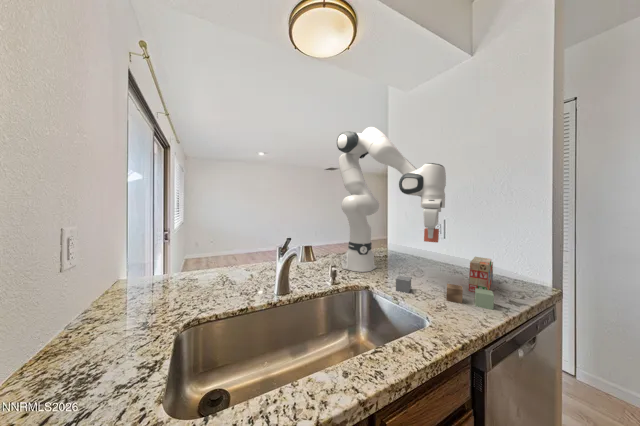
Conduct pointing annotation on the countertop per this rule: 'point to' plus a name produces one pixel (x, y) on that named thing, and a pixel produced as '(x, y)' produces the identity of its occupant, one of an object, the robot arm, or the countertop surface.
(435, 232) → the red cube
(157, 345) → the countertop surface
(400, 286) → the charcoal cube
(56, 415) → the countertop surface
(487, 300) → the sage cube
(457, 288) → the walnut cube
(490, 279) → the cardboard box
